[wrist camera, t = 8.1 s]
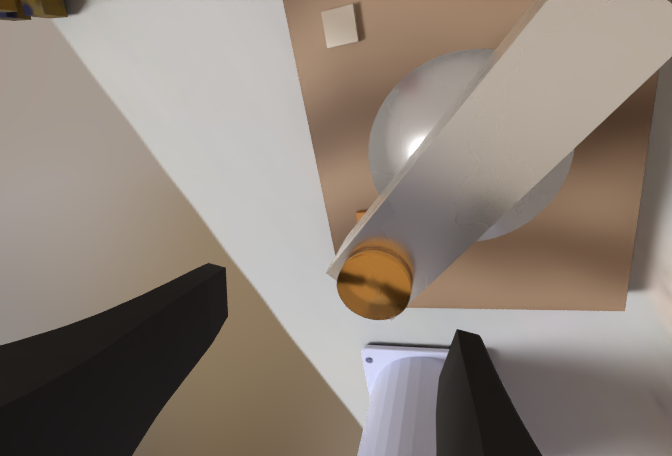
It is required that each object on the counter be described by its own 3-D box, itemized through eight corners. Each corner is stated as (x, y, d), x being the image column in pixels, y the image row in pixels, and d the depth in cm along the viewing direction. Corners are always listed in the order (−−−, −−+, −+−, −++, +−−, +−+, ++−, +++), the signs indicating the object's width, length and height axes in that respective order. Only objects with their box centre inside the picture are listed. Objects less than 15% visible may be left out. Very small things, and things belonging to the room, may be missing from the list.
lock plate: (613, 293, 19) (666, 374, 14) (352, 292, 24) (326, 353, 19) (679, -251, 11) (843, -468, 7) (275, -98, 16) (199, -161, 11)
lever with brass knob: (494, -53, 10) (526, -131, 6) (653, 71, 10) (801, 85, 6) (325, 192, 15) (271, 252, 10) (437, 275, 15) (431, 369, 10)
